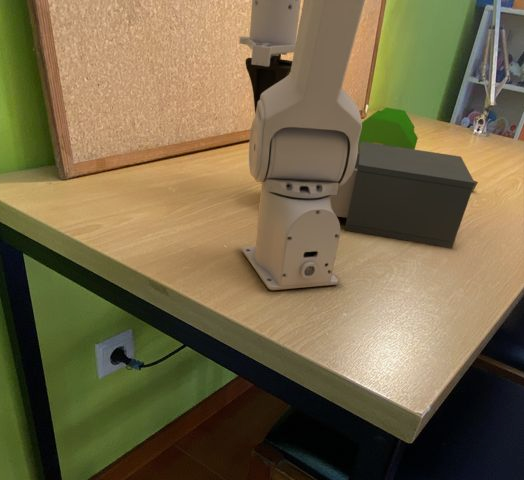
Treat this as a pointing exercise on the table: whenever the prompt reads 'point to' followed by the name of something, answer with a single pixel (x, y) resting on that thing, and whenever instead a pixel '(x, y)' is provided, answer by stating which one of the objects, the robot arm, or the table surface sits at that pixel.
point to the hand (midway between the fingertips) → (264, 121)
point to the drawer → (344, 195)
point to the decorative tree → (389, 129)
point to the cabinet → (409, 194)
